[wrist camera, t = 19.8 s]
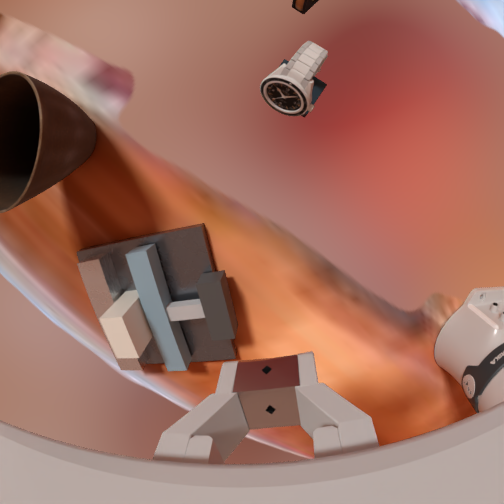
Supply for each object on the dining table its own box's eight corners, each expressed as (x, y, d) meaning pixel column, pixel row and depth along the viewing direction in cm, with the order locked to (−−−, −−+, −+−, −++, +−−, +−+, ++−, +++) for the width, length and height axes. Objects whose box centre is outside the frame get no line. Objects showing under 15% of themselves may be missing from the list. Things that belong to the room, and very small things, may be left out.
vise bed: (203, 223, 38) (195, 232, 34) (236, 352, 44) (233, 371, 40) (81, 249, 41) (65, 258, 37) (124, 358, 47) (113, 374, 43)
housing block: (146, 288, 40) (121, 316, 33) (159, 325, 42) (139, 358, 35) (125, 291, 41) (99, 318, 33) (139, 327, 43) (116, 358, 35)
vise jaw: (215, 232, 37) (210, 239, 34) (245, 353, 42) (243, 368, 39) (135, 247, 38) (123, 255, 35) (173, 358, 43) (167, 372, 40)
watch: (256, 106, 33) (248, 87, 23) (291, 56, 31) (297, 20, 21) (296, 131, 34) (305, 121, 24) (330, 79, 32) (352, 52, 21)
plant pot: (49, 90, 33) (-27, 81, 18) (129, 87, 33) (54, 62, 18) (38, 184, 38) (-37, 204, 23) (113, 195, 38) (36, 223, 23)
